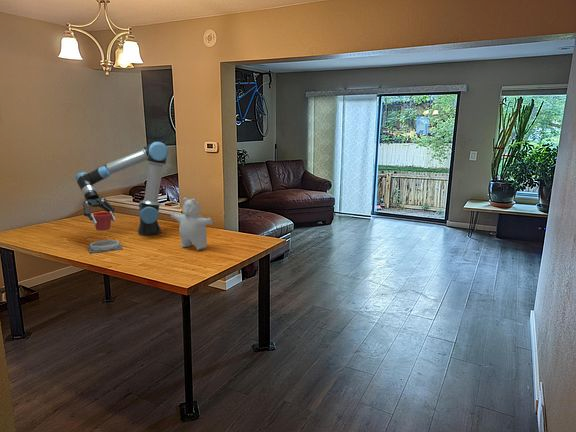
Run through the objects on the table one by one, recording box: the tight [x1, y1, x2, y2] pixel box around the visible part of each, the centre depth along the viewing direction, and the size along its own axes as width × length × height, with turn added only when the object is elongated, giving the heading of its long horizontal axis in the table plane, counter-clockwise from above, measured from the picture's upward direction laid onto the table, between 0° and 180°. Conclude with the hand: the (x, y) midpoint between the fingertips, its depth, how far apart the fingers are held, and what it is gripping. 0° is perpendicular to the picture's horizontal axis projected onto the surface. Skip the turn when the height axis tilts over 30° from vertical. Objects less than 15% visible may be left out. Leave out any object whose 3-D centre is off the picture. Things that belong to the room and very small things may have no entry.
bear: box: [170, 197, 214, 251], centre depth 245 cm, size 35×14×32 cm, turn 60°
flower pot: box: [92, 211, 112, 232], centre depth 242 cm, size 11×11×10 cm
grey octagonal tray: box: [87, 239, 124, 254], centre depth 245 cm, size 18×18×3 cm
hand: (105, 222), depth 241 cm, fingers closed on flower pot, 11 cm apart
